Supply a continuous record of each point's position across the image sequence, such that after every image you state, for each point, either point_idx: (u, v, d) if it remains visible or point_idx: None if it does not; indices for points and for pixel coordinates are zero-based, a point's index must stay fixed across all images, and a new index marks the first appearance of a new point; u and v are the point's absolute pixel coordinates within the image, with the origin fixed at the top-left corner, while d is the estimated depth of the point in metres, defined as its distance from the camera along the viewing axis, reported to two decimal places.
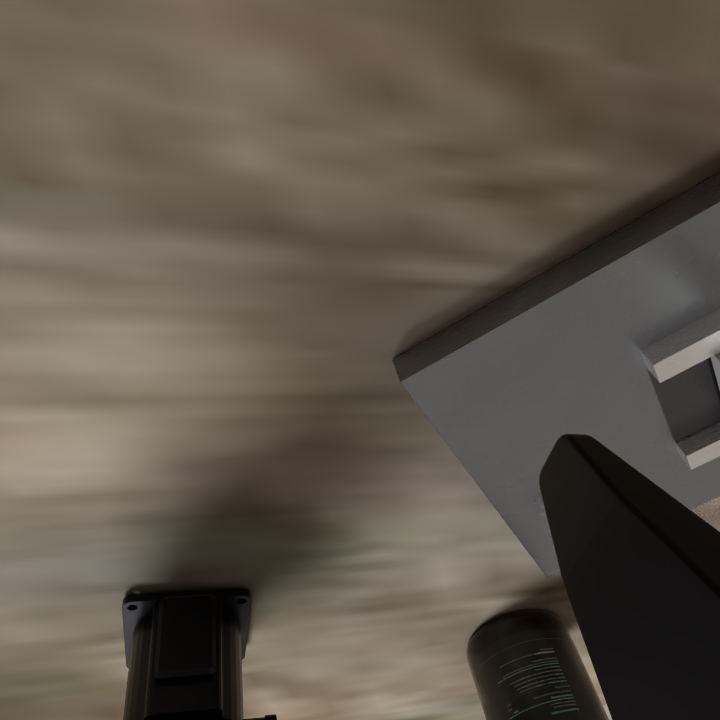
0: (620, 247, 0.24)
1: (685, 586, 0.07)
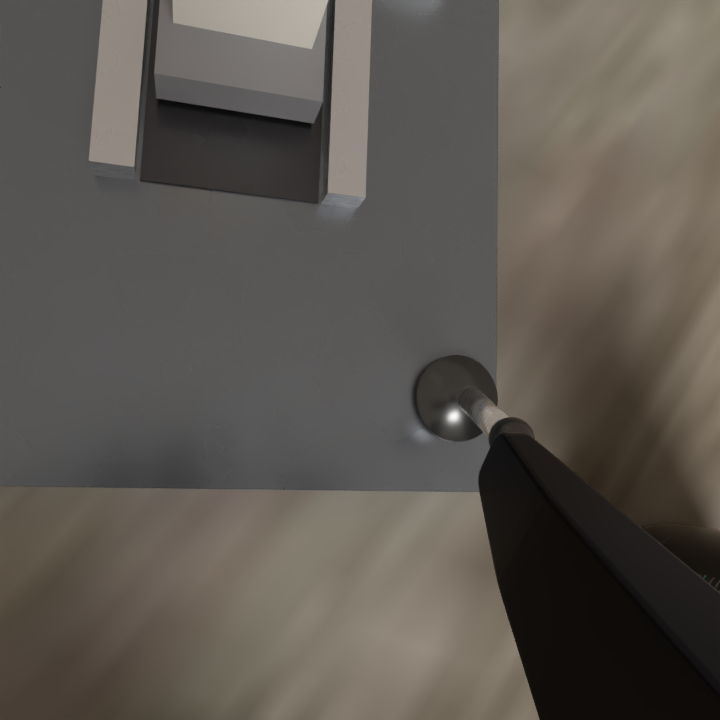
0: None
1: (606, 589, 0.07)
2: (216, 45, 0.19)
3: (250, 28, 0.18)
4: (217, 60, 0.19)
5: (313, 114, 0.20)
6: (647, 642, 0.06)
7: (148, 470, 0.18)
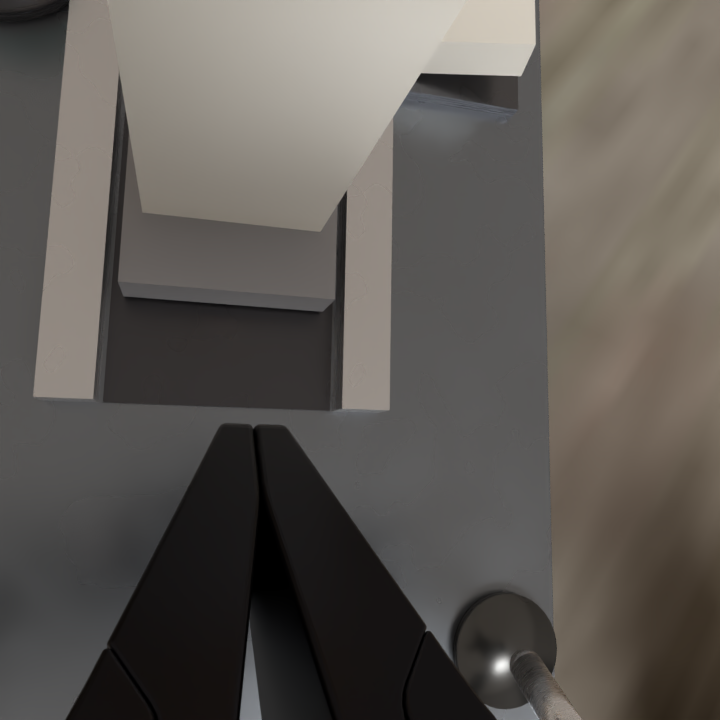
0: None
1: (287, 602, 0.06)
2: (198, 237, 0.15)
3: (242, 216, 0.14)
4: (199, 257, 0.14)
5: (322, 306, 0.16)
6: (303, 664, 0.05)
7: None
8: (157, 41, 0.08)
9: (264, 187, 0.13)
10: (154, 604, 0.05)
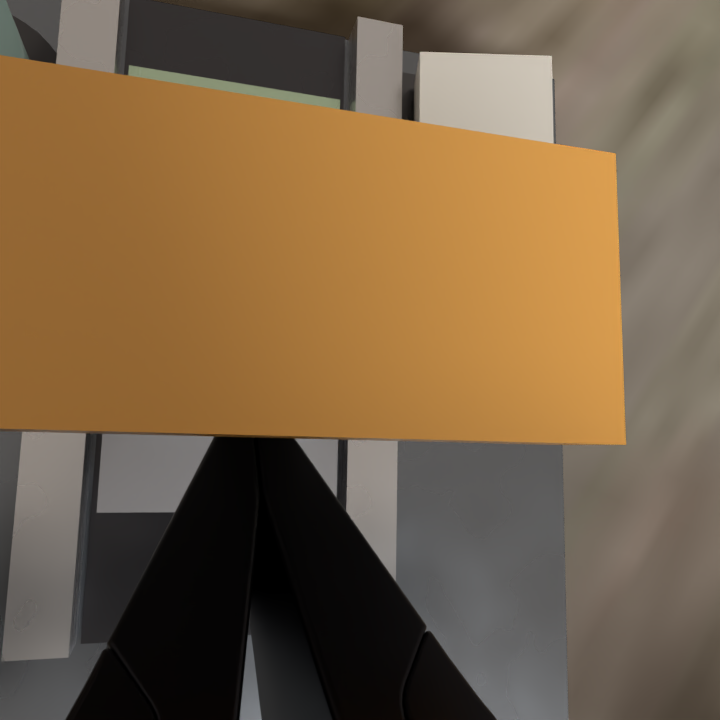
0: None
1: (287, 602, 0.06)
2: (186, 454, 0.13)
3: None
4: (188, 476, 0.13)
5: None
6: (303, 664, 0.05)
7: None
8: None
9: None
10: (154, 605, 0.05)
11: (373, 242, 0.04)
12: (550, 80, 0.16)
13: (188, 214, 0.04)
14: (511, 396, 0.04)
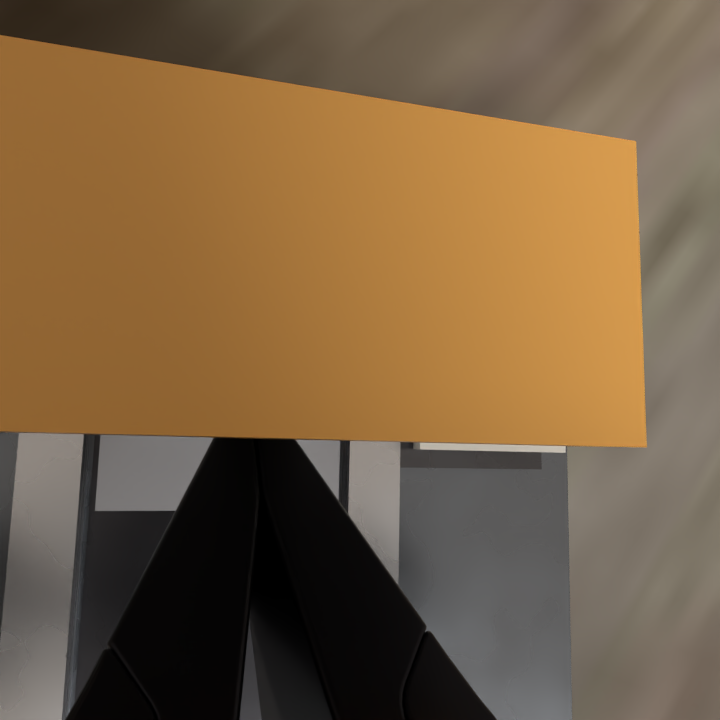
0: None
1: (287, 602, 0.06)
2: (185, 452, 0.13)
3: None
4: (187, 474, 0.13)
5: None
6: (303, 665, 0.05)
7: None
8: None
9: None
10: (154, 604, 0.05)
11: (383, 236, 0.04)
12: None
13: (187, 203, 0.04)
14: (528, 395, 0.04)
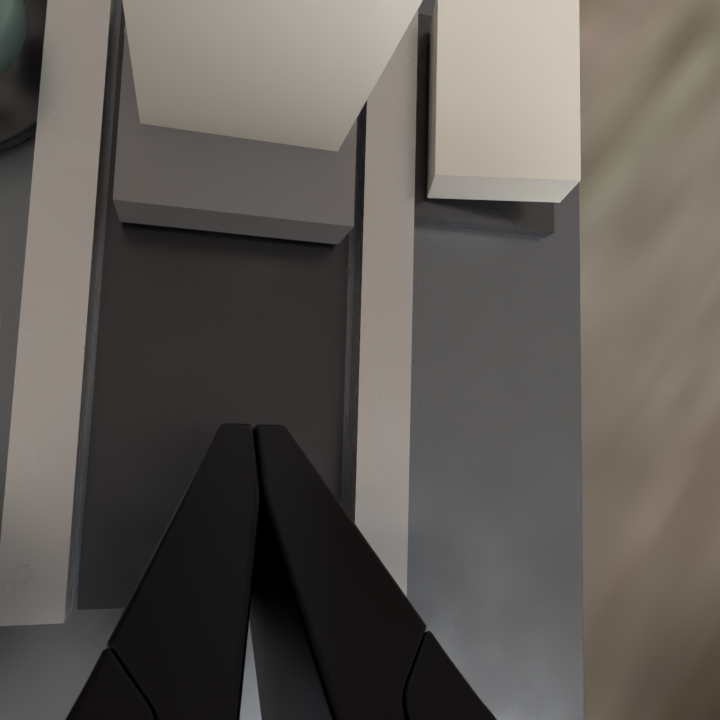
0: None
1: (287, 602, 0.06)
2: (202, 154, 0.13)
3: (251, 129, 0.13)
4: (204, 175, 0.13)
5: (339, 237, 0.14)
6: (303, 664, 0.05)
7: None
8: None
9: (277, 88, 0.11)
10: (154, 604, 0.05)
11: None
12: (577, 19, 0.15)
13: None
14: None
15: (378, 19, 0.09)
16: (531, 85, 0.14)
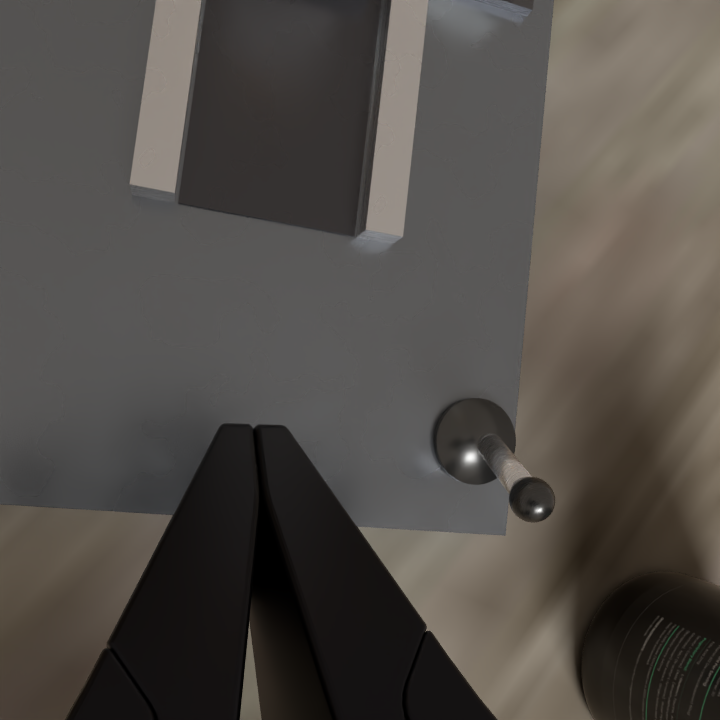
0: None
1: (287, 602, 0.06)
2: None
3: None
4: None
5: None
6: (303, 664, 0.05)
7: (168, 497, 0.19)
8: None
9: None
10: (154, 604, 0.05)
11: None
12: None
13: None
14: None
15: None
16: None
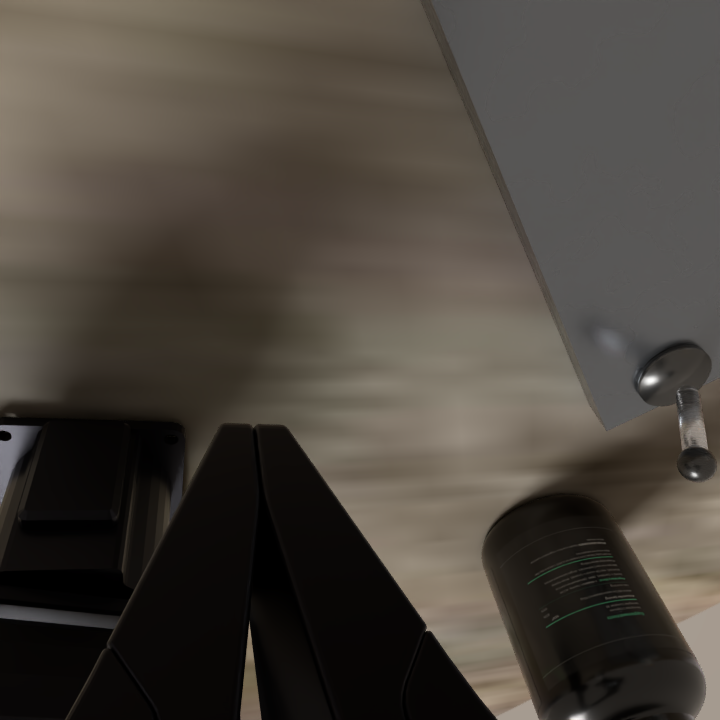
0: None
1: (287, 602, 0.06)
2: None
3: None
4: None
5: None
6: (303, 664, 0.05)
7: (537, 215, 0.19)
8: None
9: None
10: (154, 604, 0.05)
11: None
12: None
13: None
14: None
15: None
16: None
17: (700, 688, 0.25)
